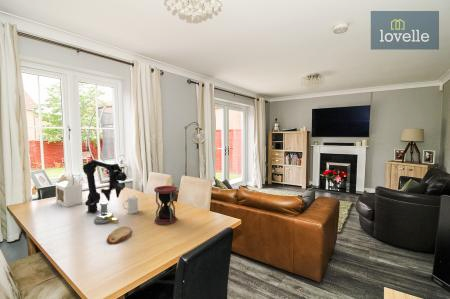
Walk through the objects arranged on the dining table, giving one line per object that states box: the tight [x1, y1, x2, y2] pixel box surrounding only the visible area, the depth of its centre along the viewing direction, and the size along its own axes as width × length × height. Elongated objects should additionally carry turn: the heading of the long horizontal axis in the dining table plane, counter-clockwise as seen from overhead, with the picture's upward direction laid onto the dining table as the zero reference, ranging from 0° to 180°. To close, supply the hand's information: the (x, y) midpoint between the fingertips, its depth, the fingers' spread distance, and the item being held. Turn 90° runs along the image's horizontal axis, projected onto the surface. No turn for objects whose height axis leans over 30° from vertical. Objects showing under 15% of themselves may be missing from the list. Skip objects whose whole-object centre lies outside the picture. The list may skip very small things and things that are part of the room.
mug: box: [122, 195, 139, 214], centre depth 179 cm, size 12×8×12 cm
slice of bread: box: [106, 225, 133, 245], centre depth 137 cm, size 18×18×4 cm
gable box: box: [55, 171, 83, 208], centre depth 199 cm, size 22×13×28 cm, turn 55°
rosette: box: [93, 212, 119, 225], centre depth 160 cm, size 18×13×4 cm
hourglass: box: [154, 185, 178, 226], centre depth 161 cm, size 16×16×25 cm
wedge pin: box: [99, 202, 109, 214], centre depth 172 cm, size 4×4×9 cm
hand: (113, 199), depth 171 cm, fingers open, 9 cm apart
